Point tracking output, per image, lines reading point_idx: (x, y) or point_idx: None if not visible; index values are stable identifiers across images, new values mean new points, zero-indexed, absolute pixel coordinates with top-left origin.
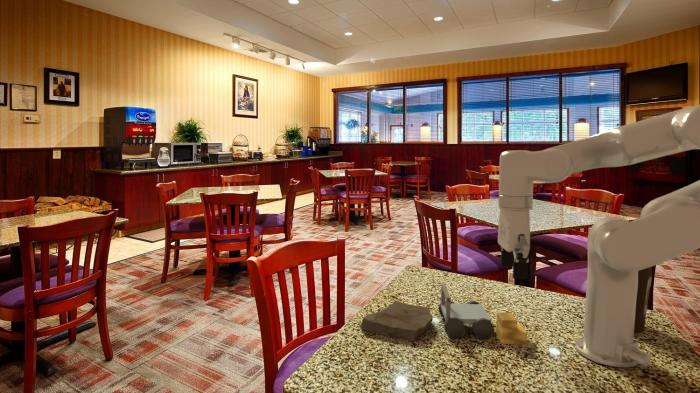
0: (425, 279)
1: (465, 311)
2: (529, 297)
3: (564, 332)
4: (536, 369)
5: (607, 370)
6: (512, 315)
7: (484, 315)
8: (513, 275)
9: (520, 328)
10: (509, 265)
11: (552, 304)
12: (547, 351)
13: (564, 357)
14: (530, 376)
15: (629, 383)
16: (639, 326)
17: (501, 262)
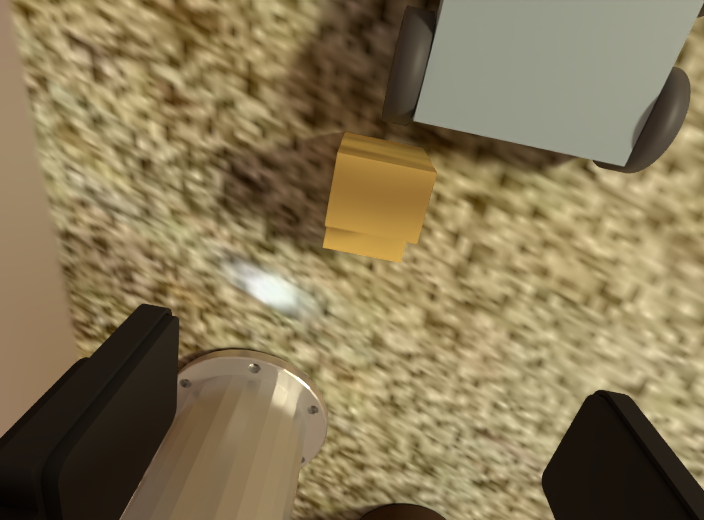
0: None
1: (560, 8)
2: (696, 441)
3: (391, 388)
4: (146, 163)
5: None
6: (385, 234)
7: (472, 108)
8: (129, 318)
9: (363, 241)
10: (560, 455)
11: None
12: (269, 268)
13: (229, 296)
14: (97, 115)
15: None
16: None
17: (626, 420)
